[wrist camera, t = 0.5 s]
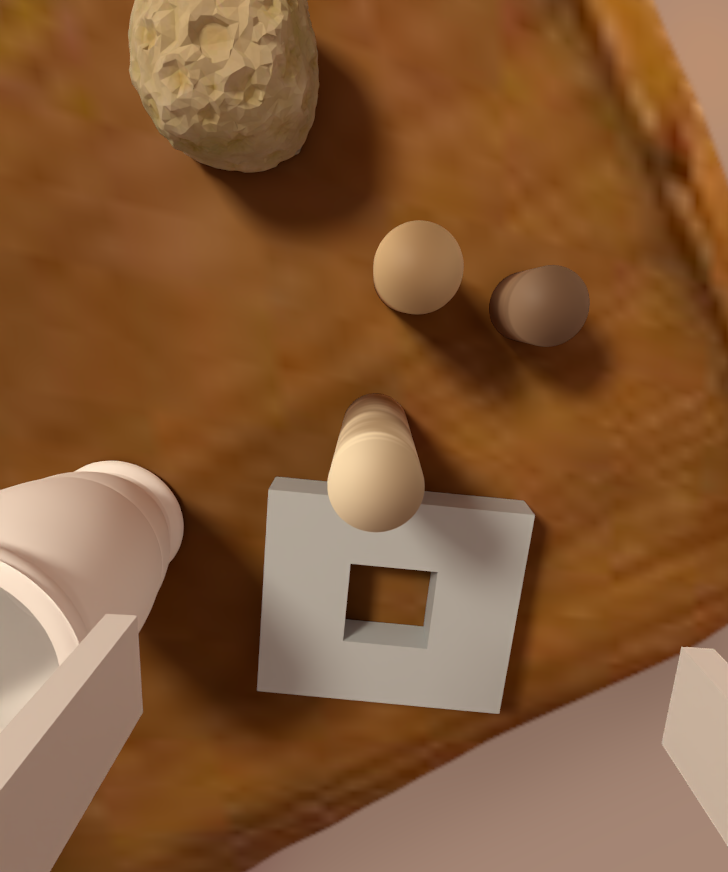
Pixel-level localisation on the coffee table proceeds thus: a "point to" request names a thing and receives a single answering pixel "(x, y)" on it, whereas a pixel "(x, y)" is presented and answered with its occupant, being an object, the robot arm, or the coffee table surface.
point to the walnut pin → (540, 306)
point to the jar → (77, 565)
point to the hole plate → (384, 642)
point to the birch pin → (375, 467)
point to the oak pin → (417, 268)
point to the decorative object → (227, 77)
